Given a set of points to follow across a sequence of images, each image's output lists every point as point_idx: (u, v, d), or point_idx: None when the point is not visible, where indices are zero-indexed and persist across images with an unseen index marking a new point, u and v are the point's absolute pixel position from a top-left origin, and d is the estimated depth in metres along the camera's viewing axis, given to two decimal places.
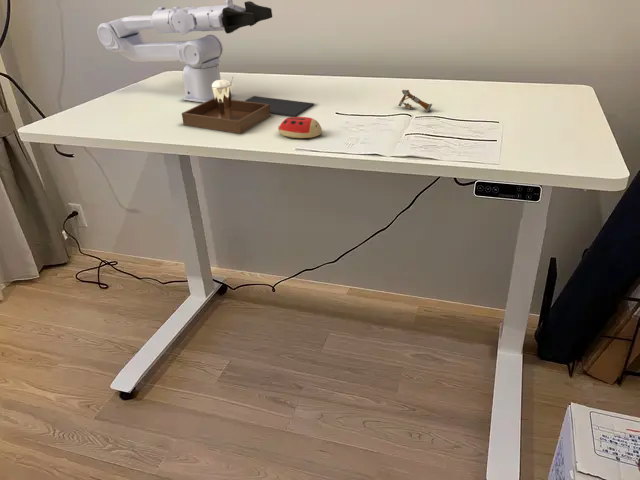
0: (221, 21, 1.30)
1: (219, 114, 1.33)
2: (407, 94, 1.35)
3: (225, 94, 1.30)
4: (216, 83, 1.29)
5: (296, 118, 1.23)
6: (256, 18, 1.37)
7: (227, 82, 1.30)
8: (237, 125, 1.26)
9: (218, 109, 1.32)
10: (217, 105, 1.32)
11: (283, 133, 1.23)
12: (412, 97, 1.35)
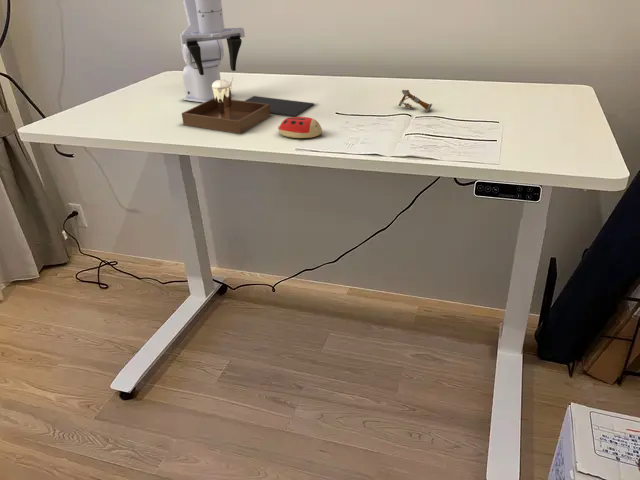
0: None
1: (219, 114, 1.33)
2: (407, 94, 1.35)
3: (225, 94, 1.30)
4: (216, 83, 1.29)
5: (296, 118, 1.23)
6: (229, 50, 1.33)
7: (227, 82, 1.29)
8: (237, 125, 1.26)
9: (218, 109, 1.32)
10: (217, 105, 1.32)
11: (283, 133, 1.23)
12: (412, 97, 1.35)
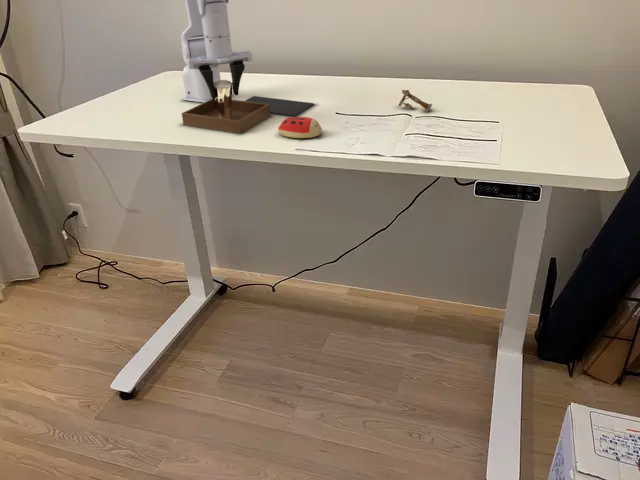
0: None
1: (219, 114, 1.33)
2: (407, 94, 1.35)
3: (226, 94, 1.30)
4: (217, 83, 1.29)
5: (296, 118, 1.23)
6: (232, 74, 1.31)
7: (228, 82, 1.30)
8: (237, 125, 1.26)
9: (219, 109, 1.32)
10: (217, 105, 1.32)
11: (283, 133, 1.23)
12: (412, 97, 1.35)
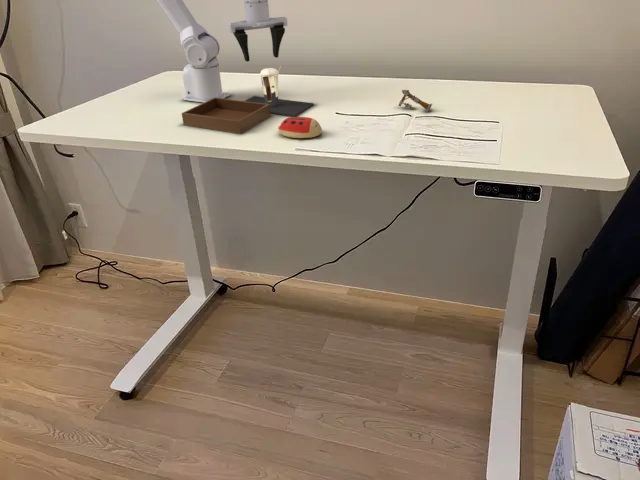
0: None
1: (266, 101, 1.40)
2: (407, 94, 1.35)
3: (273, 81, 1.37)
4: (265, 71, 1.36)
5: (296, 118, 1.23)
6: (272, 38, 1.43)
7: (275, 70, 1.37)
8: (237, 125, 1.26)
9: (266, 96, 1.40)
10: (265, 92, 1.39)
11: (283, 133, 1.23)
12: (412, 97, 1.35)
